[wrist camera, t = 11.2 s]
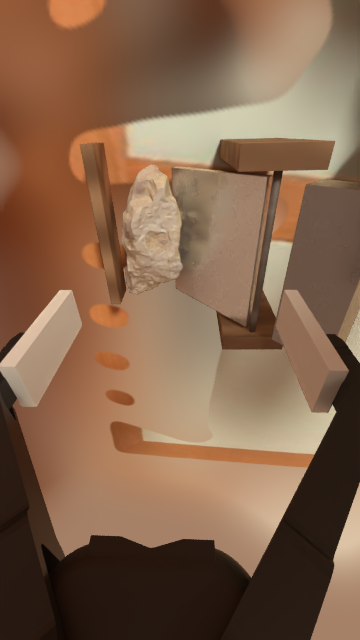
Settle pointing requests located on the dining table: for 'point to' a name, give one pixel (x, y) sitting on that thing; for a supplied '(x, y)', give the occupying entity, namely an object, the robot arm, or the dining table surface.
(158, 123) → the dining table surface
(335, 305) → the trapdoor
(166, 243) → the stone
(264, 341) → the frame
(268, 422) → the dining table surface
